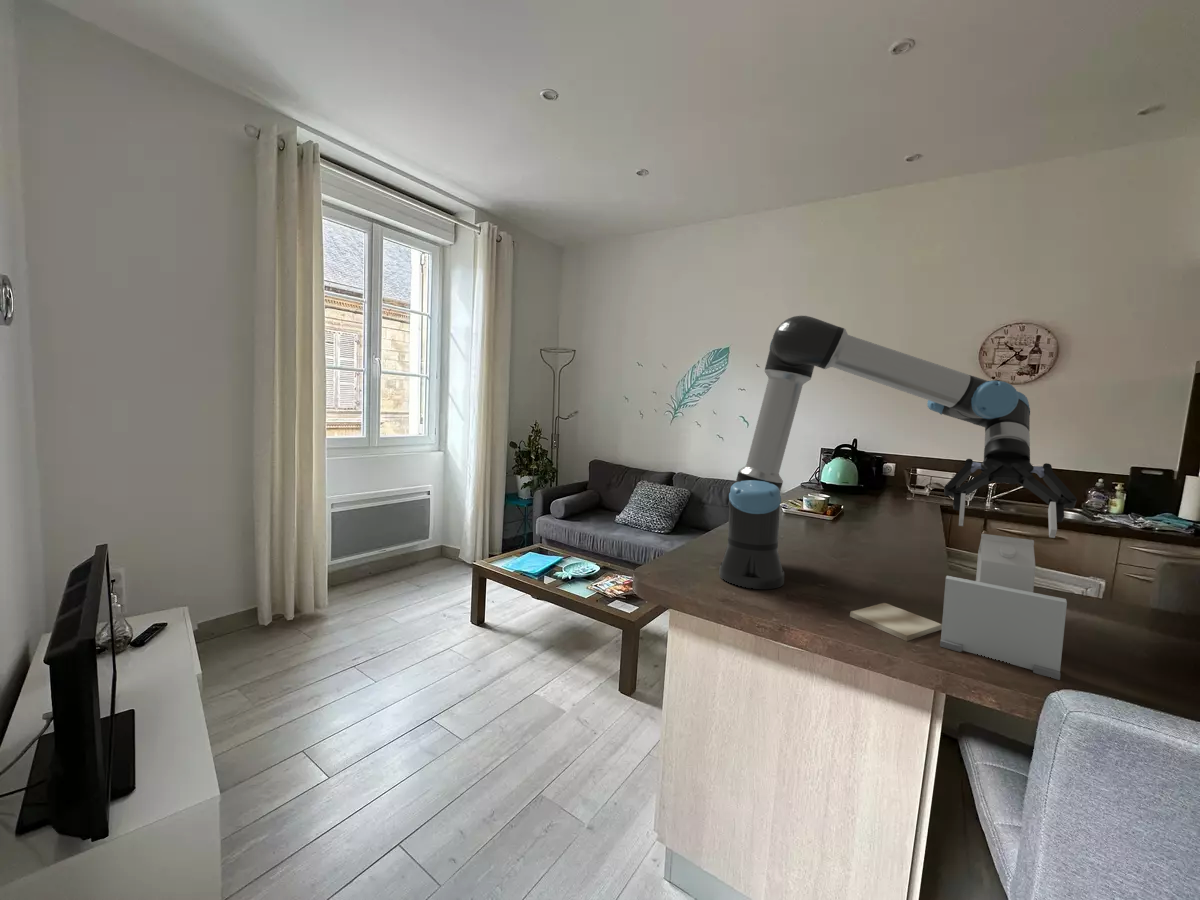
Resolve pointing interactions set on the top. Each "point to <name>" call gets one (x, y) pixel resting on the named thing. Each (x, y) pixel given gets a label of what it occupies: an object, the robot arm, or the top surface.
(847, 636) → the top surface
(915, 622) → the birch board
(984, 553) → the milk carton
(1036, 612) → the grey screen
